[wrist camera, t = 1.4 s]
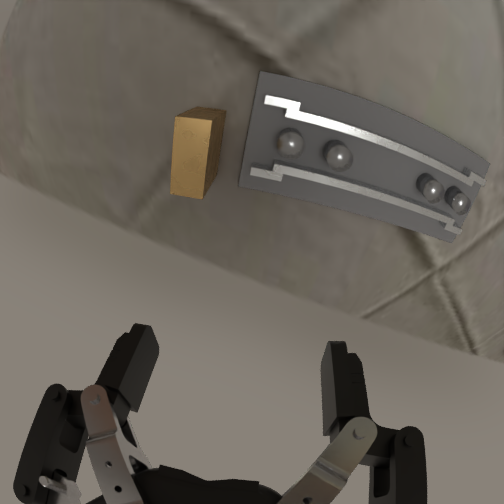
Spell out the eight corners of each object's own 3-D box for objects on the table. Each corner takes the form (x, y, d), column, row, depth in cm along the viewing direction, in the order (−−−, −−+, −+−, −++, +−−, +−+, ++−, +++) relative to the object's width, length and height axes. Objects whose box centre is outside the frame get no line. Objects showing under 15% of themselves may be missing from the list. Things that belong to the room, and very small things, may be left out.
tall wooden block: (189, 169, 28) (170, 193, 23) (196, 106, 24) (175, 116, 19) (217, 174, 28) (202, 199, 23) (226, 110, 24) (212, 120, 19)
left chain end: (251, 169, 26) (248, 179, 24) (266, 94, 22) (265, 96, 20) (371, 199, 27) (378, 211, 25) (396, 133, 22) (406, 139, 20)
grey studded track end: (371, 199, 27) (378, 211, 25) (396, 133, 22) (406, 139, 20) (454, 228, 27) (463, 240, 25) (479, 175, 22) (491, 184, 20)
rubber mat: (239, 183, 28) (238, 186, 28) (260, 71, 21) (260, 71, 20) (449, 239, 29) (451, 243, 28) (486, 161, 22) (490, 163, 21)
